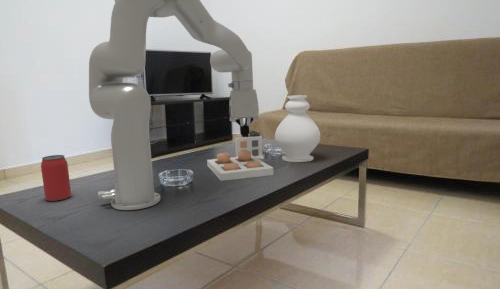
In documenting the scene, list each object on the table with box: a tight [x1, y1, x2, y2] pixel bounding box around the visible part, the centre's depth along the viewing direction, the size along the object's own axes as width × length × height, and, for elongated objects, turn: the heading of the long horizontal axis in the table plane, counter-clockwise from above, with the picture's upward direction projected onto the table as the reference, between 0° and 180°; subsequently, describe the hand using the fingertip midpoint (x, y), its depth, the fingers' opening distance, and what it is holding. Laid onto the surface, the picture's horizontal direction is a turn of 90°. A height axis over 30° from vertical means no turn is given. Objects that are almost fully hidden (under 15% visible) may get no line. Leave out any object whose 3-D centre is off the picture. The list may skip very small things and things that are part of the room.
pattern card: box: [234, 135, 265, 160], centre depth 143 cm, size 11×4×9 cm, turn 108°
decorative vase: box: [274, 94, 321, 163], centre depth 140 cm, size 18×18×25 cm
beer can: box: [40, 154, 72, 202], centre depth 100 cm, size 7×7×12 cm
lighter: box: [248, 129, 264, 155], centre depth 155 cm, size 8×3×10 cm, turn 58°
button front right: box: [246, 161, 260, 168], centre depth 123 cm, size 5×5×3 cm
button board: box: [206, 156, 275, 182], centre depth 126 cm, size 18×22×2 cm
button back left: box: [216, 152, 231, 164], centre depth 129 cm, size 5×5×3 cm
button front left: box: [224, 163, 238, 171], centre depth 120 cm, size 5×5×3 cm
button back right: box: [238, 151, 251, 161], centre depth 132 cm, size 5×5×3 cm
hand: (244, 136), depth 131 cm, fingers closed
